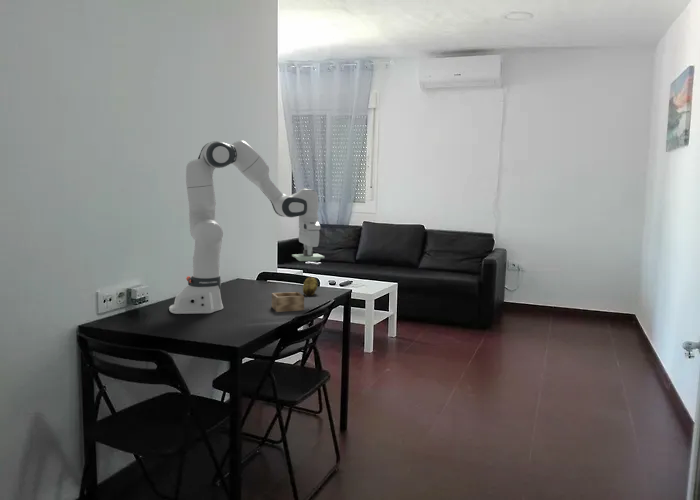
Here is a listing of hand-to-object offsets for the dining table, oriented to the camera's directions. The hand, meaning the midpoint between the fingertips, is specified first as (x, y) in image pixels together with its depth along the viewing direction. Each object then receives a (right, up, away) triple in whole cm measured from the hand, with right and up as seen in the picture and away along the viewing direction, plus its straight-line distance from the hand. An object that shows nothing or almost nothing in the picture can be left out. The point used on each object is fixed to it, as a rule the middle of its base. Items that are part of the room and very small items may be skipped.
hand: (308, 254), depth 268 cm
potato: (-1, -20, +20) cm, 28 cm away
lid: (0, -2, 0) cm, 2 cm away
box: (-8, -24, -15) cm, 29 cm away
